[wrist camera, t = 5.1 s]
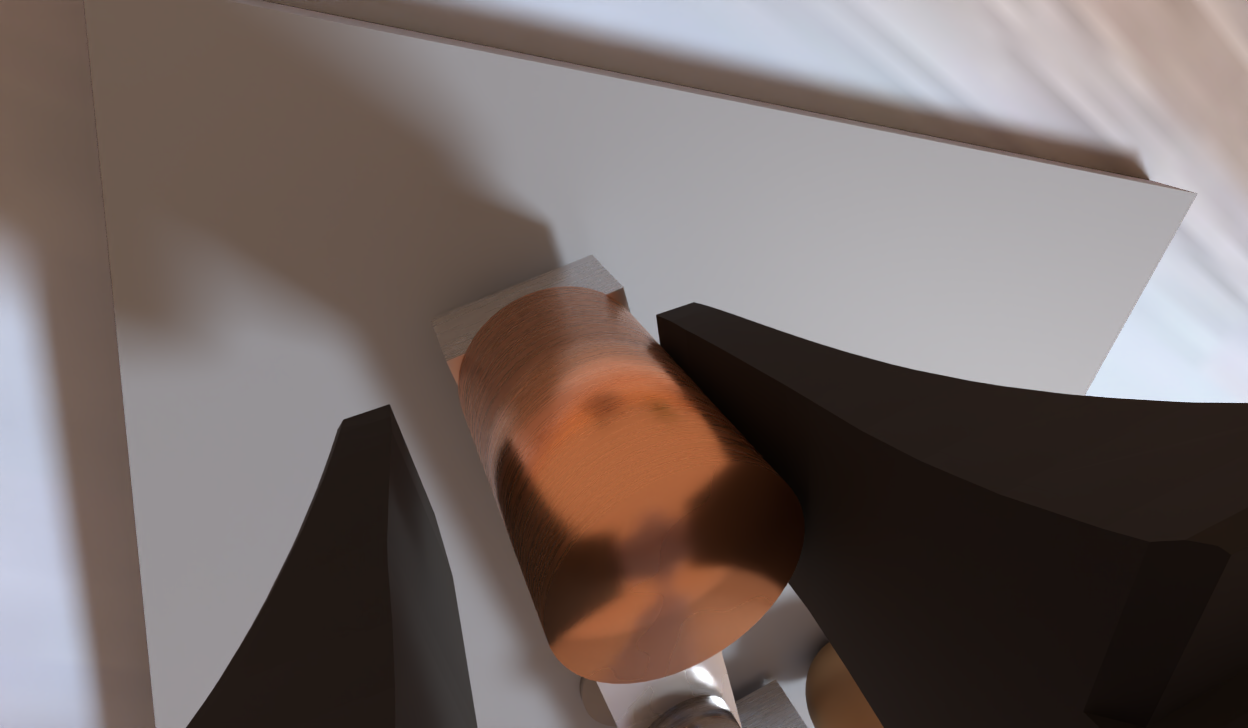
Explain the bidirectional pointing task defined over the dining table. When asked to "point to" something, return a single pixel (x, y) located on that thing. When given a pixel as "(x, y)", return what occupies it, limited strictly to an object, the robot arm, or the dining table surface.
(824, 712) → the brown sphere
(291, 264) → the flat white platform
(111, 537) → the dining table surface
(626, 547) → the lever
